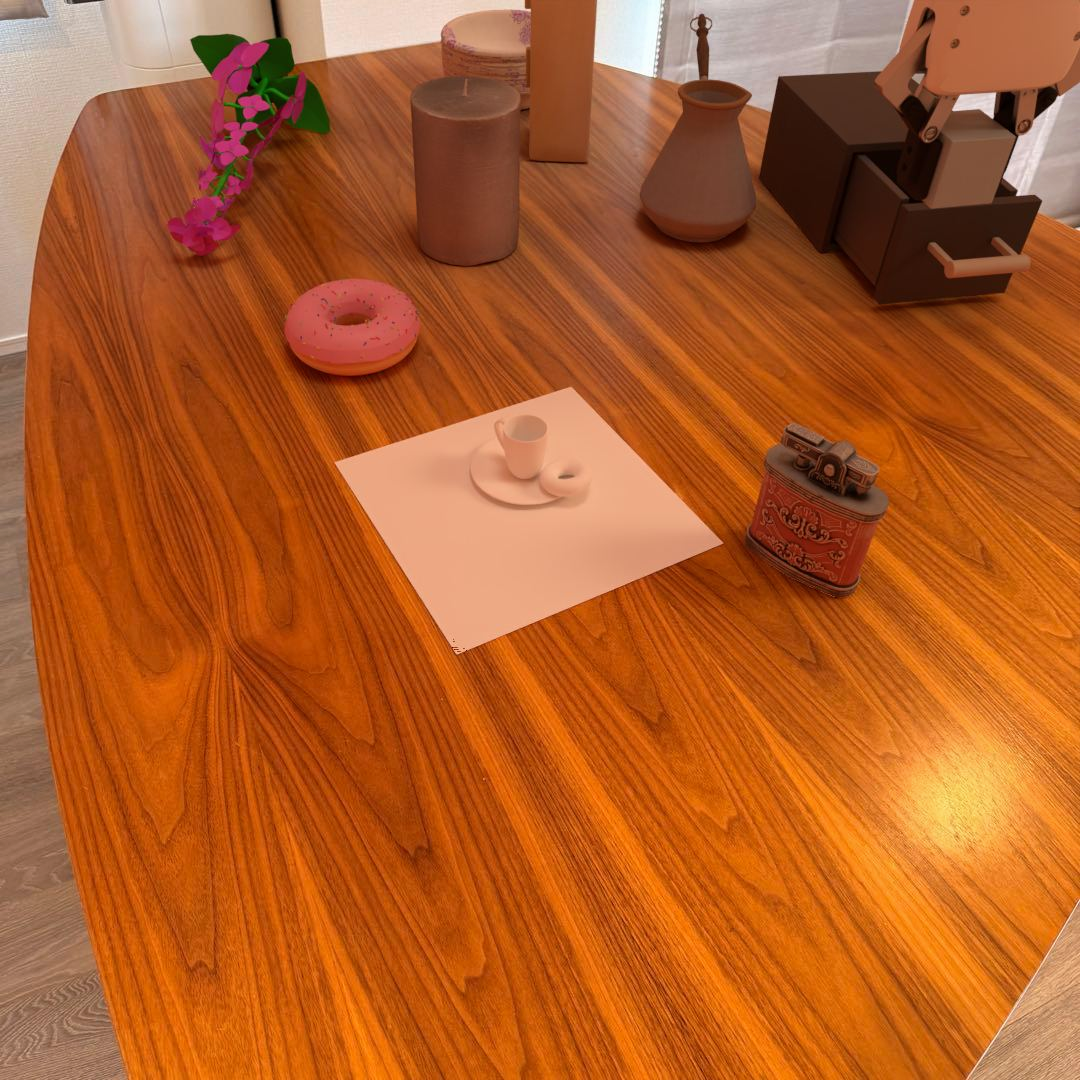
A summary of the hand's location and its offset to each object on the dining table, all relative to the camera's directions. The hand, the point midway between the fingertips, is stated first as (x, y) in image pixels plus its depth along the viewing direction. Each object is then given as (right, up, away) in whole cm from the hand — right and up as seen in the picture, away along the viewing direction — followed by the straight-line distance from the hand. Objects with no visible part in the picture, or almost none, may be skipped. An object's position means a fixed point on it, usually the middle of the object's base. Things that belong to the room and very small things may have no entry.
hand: (946, 185), depth 67 cm
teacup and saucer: (-29, -22, +1) cm, 37 cm away
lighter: (-11, -26, -3) cm, 29 cm away
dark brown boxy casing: (+4, +10, +34) cm, 35 cm away
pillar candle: (-35, +4, +26) cm, 44 cm away
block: (0, 0, 0) cm, 0 cm away
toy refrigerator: (-26, +20, +42) cm, 54 cm away
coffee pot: (-13, +10, +34) cm, 38 cm away
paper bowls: (-32, +30, +52) cm, 68 cm away
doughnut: (-44, -9, +13) cm, 46 cm away
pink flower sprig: (-58, +13, +34) cm, 68 cm away
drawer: (+7, +1, +23) cm, 24 cm away
